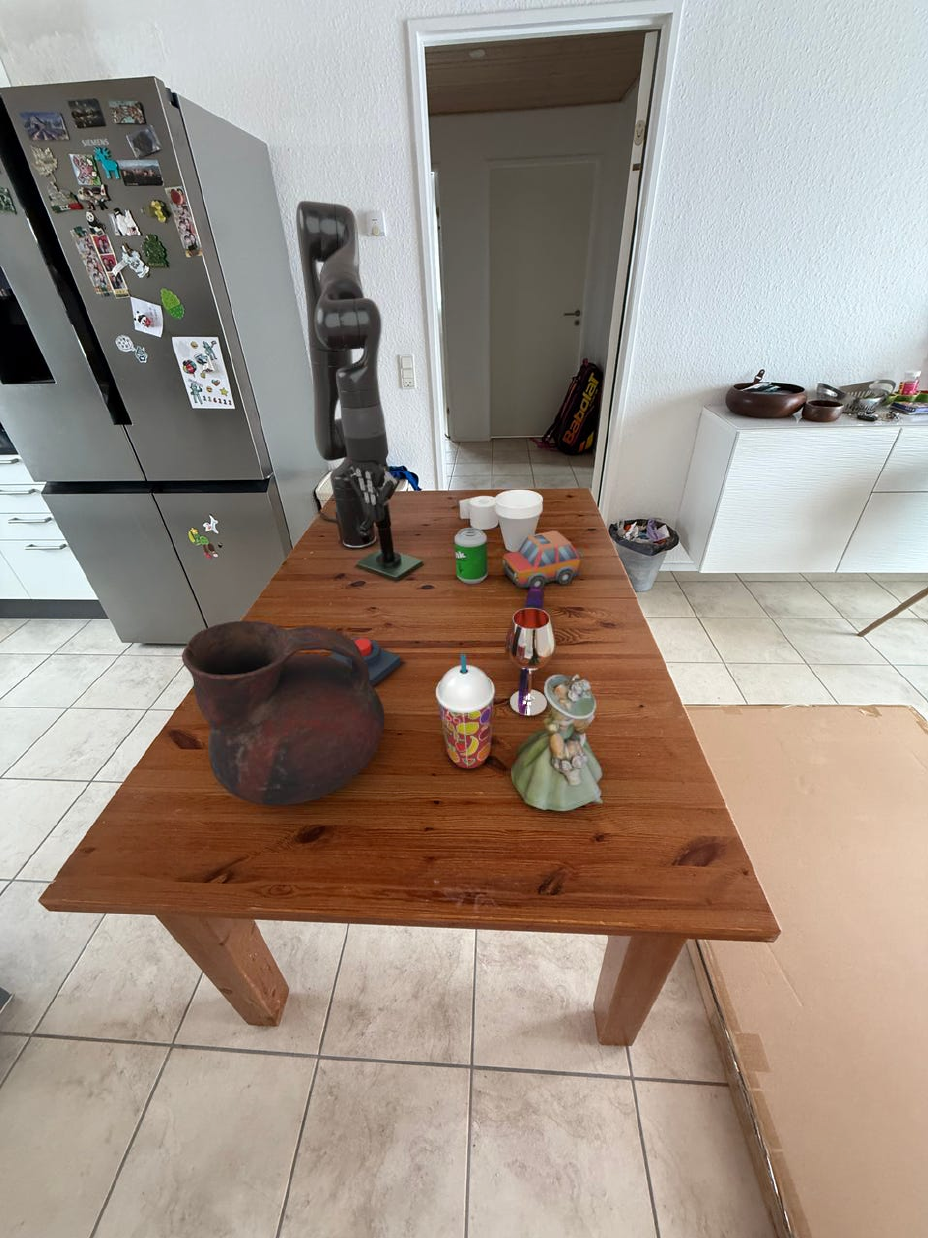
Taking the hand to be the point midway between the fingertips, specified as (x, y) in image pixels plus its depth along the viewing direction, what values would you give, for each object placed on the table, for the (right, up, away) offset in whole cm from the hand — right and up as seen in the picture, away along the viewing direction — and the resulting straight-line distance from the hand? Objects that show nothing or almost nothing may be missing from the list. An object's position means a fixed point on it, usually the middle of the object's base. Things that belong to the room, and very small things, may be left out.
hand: (377, 519), depth 101 cm
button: (-2, -26, -3) cm, 26 cm away
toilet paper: (+22, +9, +50) cm, 56 cm away
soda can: (+19, -10, +24) cm, 32 cm away
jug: (-7, -42, -21) cm, 48 cm away
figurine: (+30, -44, -27) cm, 60 cm away
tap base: (-2, -6, +31) cm, 31 cm away
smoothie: (+18, -41, -21) cm, 50 cm away
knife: (+30, -27, -2) cm, 40 cm away
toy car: (+36, -10, +23) cm, 43 cm away
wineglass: (+28, -35, -12) cm, 46 cm away
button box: (-2, -28, -1) cm, 29 cm away
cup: (+32, 0, +36) cm, 48 cm away
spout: (-4, 0, +20) cm, 20 cm away
